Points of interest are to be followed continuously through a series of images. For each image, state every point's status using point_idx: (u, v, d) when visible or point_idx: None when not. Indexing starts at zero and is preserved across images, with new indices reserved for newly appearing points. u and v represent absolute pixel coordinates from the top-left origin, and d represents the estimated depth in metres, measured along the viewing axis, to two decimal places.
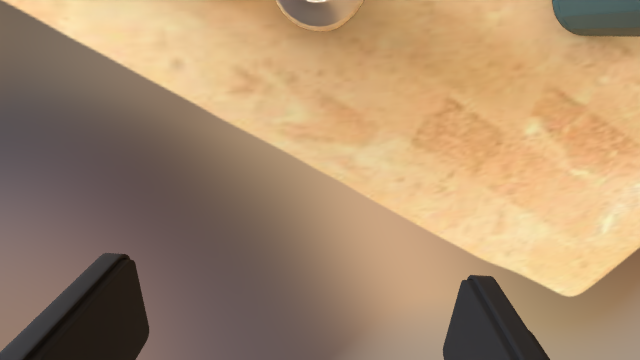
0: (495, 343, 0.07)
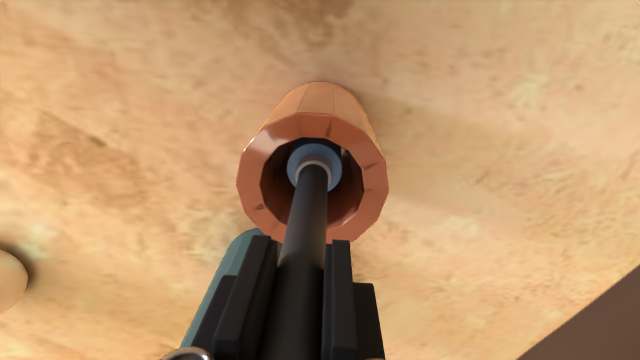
0: (323, 289, 0.08)
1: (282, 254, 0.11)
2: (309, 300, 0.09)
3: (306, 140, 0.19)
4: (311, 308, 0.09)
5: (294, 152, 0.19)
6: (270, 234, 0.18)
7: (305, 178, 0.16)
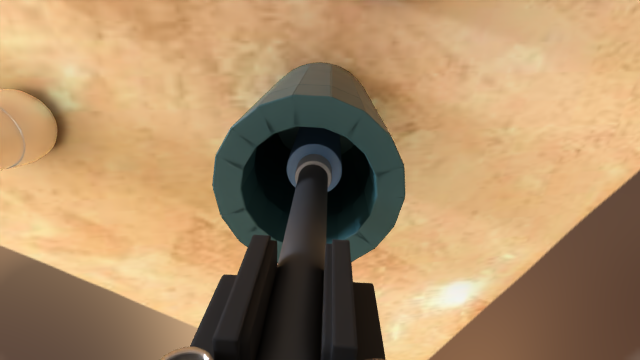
0: (323, 289, 0.08)
1: (282, 255, 0.11)
2: (309, 301, 0.09)
3: (306, 140, 0.19)
4: (311, 309, 0.09)
5: (294, 152, 0.19)
6: None
7: (305, 179, 0.16)
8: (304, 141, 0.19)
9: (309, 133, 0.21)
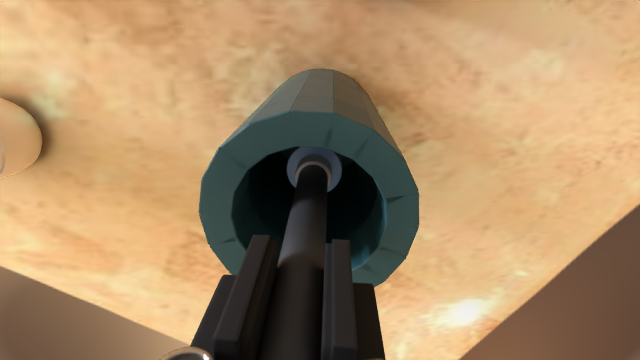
0: (323, 289, 0.08)
1: (282, 255, 0.11)
2: (309, 301, 0.09)
3: None
4: (311, 309, 0.09)
5: (294, 153, 0.19)
6: None
7: (305, 179, 0.16)
8: None
9: None
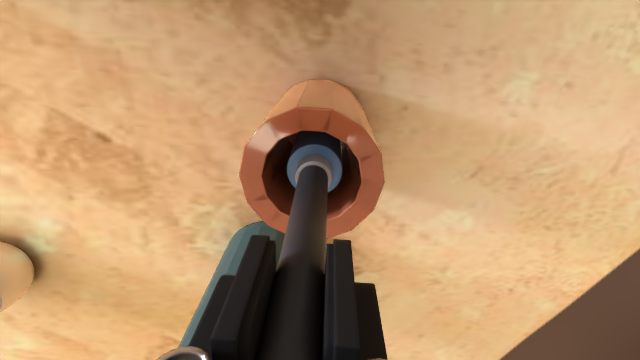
0: (325, 290, 0.08)
1: (282, 255, 0.11)
2: (309, 301, 0.09)
3: (306, 141, 0.19)
4: (311, 309, 0.09)
5: (294, 153, 0.19)
6: (272, 224, 0.19)
7: (305, 179, 0.16)
8: (304, 142, 0.19)
9: (309, 133, 0.21)
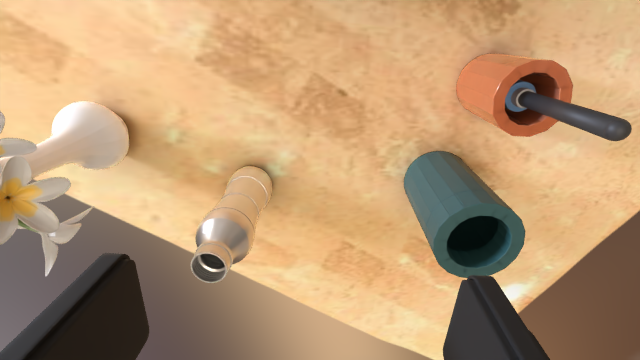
0: (495, 343, 0.07)
1: (568, 109, 0.28)
2: (601, 113, 0.26)
3: None
4: (604, 114, 0.25)
5: (512, 86, 0.35)
6: (502, 127, 0.35)
7: (534, 94, 0.33)
8: None
9: None
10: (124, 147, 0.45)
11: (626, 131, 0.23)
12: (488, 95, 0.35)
